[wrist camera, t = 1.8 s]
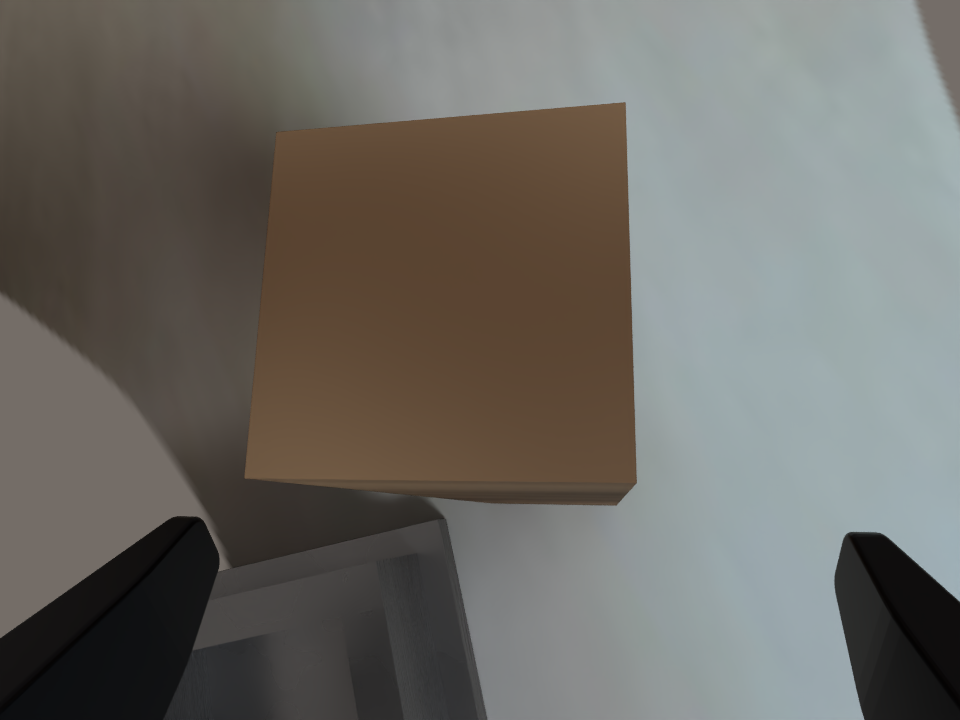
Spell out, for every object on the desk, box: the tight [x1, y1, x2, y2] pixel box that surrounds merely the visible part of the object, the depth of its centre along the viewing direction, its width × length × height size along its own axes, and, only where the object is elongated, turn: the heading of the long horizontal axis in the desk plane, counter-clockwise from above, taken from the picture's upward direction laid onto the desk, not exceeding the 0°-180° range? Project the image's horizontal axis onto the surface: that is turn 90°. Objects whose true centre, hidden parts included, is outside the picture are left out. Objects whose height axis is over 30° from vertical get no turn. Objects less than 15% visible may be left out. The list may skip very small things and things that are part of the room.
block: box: [244, 102, 637, 505], centre depth 13 cm, size 4×4×14 cm
